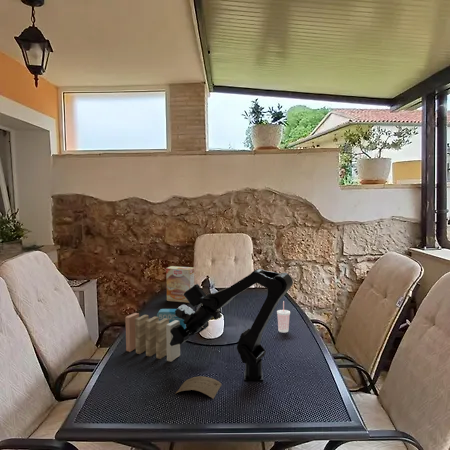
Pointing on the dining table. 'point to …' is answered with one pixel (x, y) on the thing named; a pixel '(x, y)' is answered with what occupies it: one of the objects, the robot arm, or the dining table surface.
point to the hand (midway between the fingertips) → (177, 340)
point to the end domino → (130, 332)
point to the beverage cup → (283, 320)
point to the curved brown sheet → (202, 385)
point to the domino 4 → (171, 350)
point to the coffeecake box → (179, 282)
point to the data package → (170, 316)
